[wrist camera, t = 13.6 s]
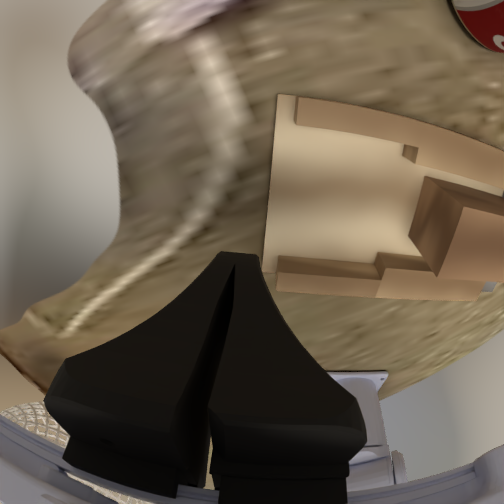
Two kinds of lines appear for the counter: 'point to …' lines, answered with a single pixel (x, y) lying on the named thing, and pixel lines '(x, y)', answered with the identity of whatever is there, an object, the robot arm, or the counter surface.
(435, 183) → the tan upright prism
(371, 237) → the tapered wooden tray
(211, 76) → the counter surface
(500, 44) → the soda can
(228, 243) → the counter surface
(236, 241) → the counter surface
